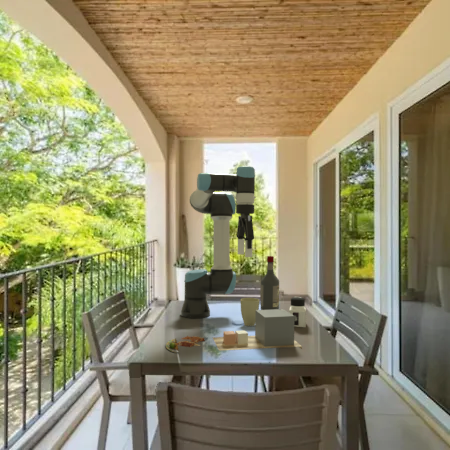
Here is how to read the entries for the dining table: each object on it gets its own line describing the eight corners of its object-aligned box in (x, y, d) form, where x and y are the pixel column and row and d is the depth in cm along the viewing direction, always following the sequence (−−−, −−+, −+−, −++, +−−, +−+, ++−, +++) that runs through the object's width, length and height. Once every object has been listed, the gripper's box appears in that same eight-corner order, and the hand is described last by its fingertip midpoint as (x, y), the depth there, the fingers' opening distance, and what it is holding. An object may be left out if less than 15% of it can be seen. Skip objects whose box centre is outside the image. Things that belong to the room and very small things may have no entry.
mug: (264, 324, 180) (264, 299, 180) (250, 328, 173) (251, 302, 173) (246, 320, 188) (246, 296, 188) (233, 324, 180) (233, 298, 180)
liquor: (259, 311, 208) (260, 256, 208) (263, 307, 216) (264, 255, 216) (276, 312, 204) (276, 257, 204) (279, 309, 213) (280, 256, 213)
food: (218, 352, 142) (218, 344, 142) (172, 358, 136) (172, 350, 136) (203, 337, 159) (203, 330, 159) (162, 342, 153) (162, 335, 153)
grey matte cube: (255, 337, 155) (255, 310, 155) (282, 335, 157) (283, 309, 157) (264, 346, 143) (264, 317, 143) (294, 344, 146) (294, 316, 146)
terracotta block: (223, 341, 149) (223, 331, 148) (233, 341, 149) (233, 331, 149) (225, 344, 145) (225, 334, 145) (235, 344, 145) (235, 333, 145)
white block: (235, 341, 149) (235, 330, 149) (244, 340, 150) (244, 330, 150) (237, 344, 146) (238, 333, 145) (247, 343, 147) (248, 333, 147)
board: (212, 341, 154) (212, 337, 154) (287, 337, 160) (287, 334, 160) (219, 354, 138) (219, 350, 138) (301, 350, 144) (301, 346, 144)
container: (305, 327, 176) (306, 299, 176) (288, 326, 178) (289, 298, 178) (305, 323, 184) (305, 296, 184) (289, 322, 185) (289, 295, 185)
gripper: (262, 202, 144) (261, 258, 145) (246, 205, 169) (246, 253, 169) (243, 202, 143) (242, 258, 143) (230, 205, 168) (229, 253, 168)
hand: (244, 255), depth 156 cm, fingers open, 13 cm apart
